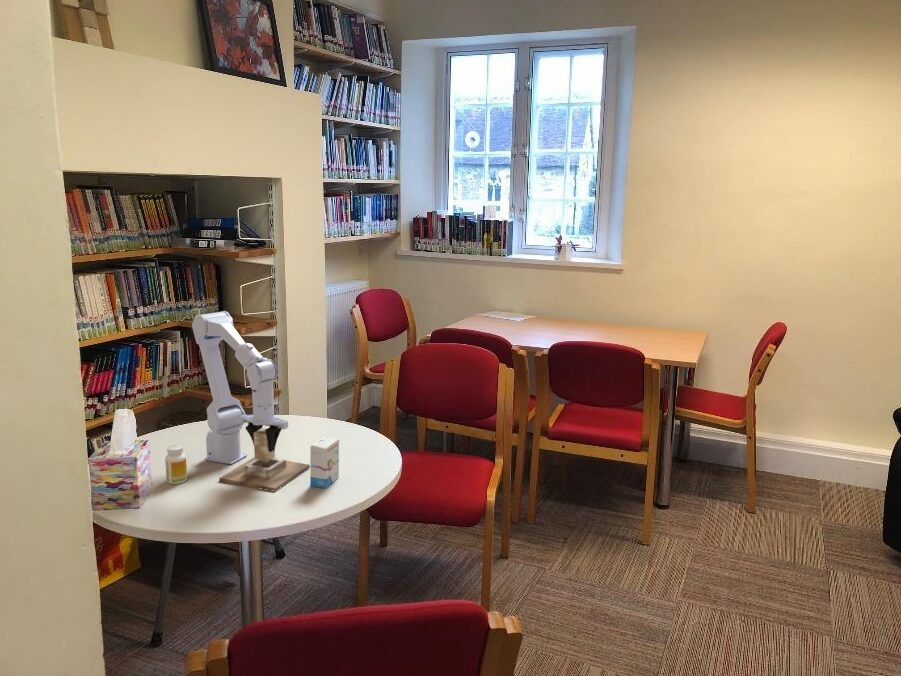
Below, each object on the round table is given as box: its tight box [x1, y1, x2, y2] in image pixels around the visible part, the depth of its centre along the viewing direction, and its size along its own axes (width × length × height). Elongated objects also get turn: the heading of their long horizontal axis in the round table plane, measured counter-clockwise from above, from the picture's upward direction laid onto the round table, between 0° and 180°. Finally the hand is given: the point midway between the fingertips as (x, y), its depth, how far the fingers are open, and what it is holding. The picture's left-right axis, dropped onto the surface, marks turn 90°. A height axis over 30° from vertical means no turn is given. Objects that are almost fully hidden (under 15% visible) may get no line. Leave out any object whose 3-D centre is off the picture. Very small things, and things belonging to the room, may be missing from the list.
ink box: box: [309, 436, 340, 489], centre depth 204 cm, size 9×5×12 cm, turn 163°
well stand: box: [218, 456, 310, 492], centre depth 209 cm, size 18×18×4 cm
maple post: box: [253, 427, 276, 462], centre depth 207 cm, size 4×4×8 cm
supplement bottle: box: [164, 444, 188, 485], centre depth 203 cm, size 5×5×10 cm
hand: (264, 449), depth 208 cm, fingers closed on maple post, 4 cm apart
